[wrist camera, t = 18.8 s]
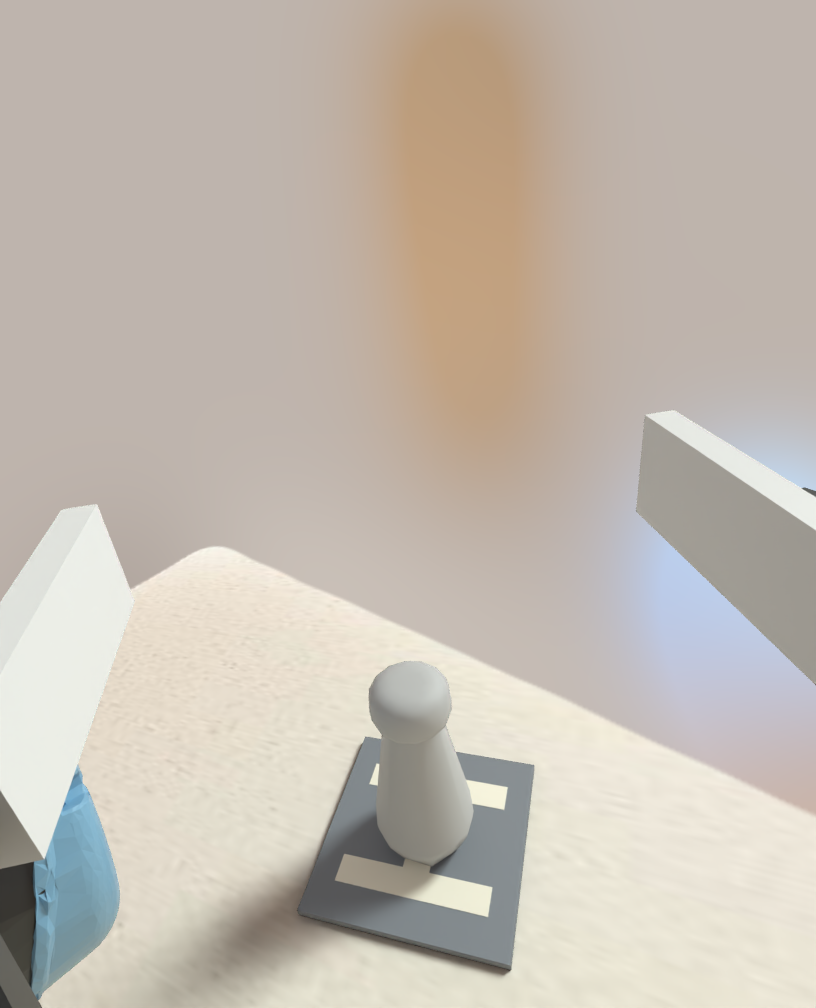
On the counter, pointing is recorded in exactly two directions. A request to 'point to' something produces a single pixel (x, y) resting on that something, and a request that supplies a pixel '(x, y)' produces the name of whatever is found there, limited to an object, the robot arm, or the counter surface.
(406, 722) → the salt shaker
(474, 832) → the letter card
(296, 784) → the counter surface
